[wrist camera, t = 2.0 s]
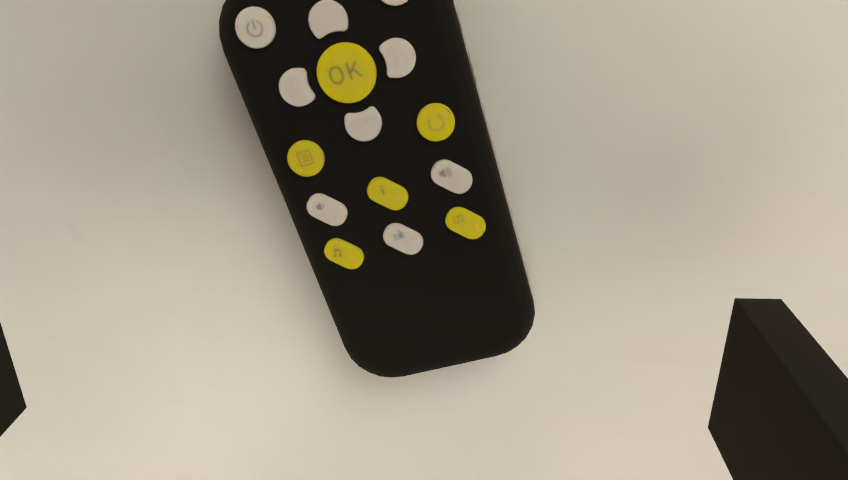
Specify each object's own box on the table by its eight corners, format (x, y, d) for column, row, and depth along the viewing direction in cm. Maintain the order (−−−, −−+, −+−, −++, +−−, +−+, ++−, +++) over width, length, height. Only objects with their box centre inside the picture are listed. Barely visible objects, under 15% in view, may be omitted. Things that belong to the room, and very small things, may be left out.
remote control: (365, 360, 24) (357, 396, 22) (216, -13, 19) (190, -5, 17) (540, 321, 23) (547, 356, 21) (432, -84, 18) (429, -84, 16)
